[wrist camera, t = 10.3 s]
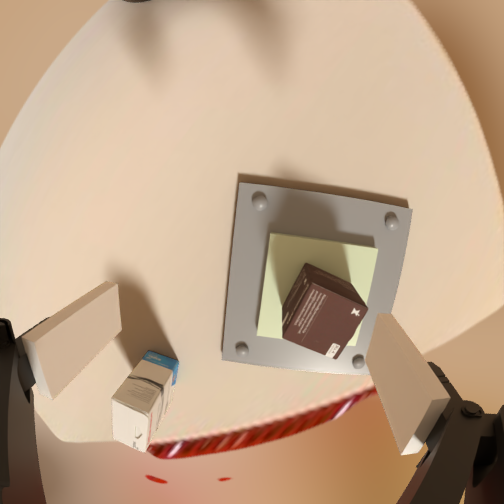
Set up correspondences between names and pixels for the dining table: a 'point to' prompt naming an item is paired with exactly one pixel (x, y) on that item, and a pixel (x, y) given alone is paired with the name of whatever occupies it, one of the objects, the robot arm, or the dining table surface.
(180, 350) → the dining table surface
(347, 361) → the board
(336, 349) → the box
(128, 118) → the dining table surface
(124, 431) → the ink box
